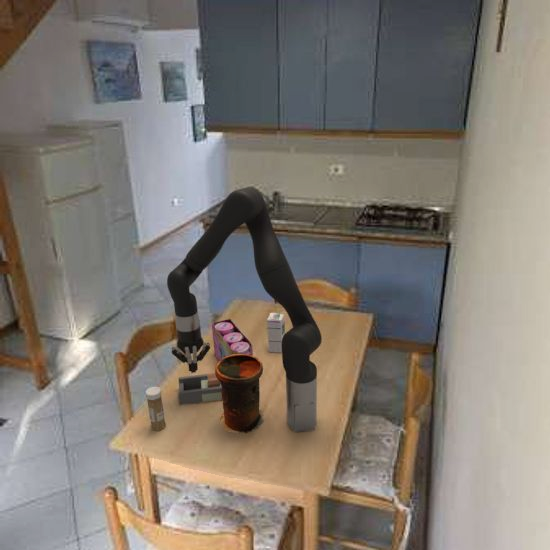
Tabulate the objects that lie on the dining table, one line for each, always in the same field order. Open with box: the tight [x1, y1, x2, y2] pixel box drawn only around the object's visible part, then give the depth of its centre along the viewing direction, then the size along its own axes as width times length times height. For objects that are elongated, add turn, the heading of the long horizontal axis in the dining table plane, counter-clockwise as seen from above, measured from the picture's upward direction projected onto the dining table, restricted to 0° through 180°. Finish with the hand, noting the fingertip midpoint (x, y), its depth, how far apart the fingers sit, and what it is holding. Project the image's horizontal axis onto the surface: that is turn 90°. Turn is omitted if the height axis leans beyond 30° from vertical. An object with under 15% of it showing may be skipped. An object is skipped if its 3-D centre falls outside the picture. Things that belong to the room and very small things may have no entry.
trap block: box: [206, 372, 220, 388], centre depth 167 cm, size 4×4×3 cm
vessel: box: [214, 354, 265, 434], centre depth 151 cm, size 14×14×20 cm
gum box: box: [211, 318, 254, 362], centre depth 180 cm, size 24×8×14 cm, turn 25°
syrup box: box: [266, 312, 286, 354], centre depth 190 cm, size 6×6×14 cm
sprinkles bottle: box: [145, 386, 167, 432], centre depth 150 cm, size 5×5×14 cm
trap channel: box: [177, 372, 222, 406], centre depth 167 cm, size 9×22×4 cm, turn 100°
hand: (193, 371), depth 164 cm, fingers closed
